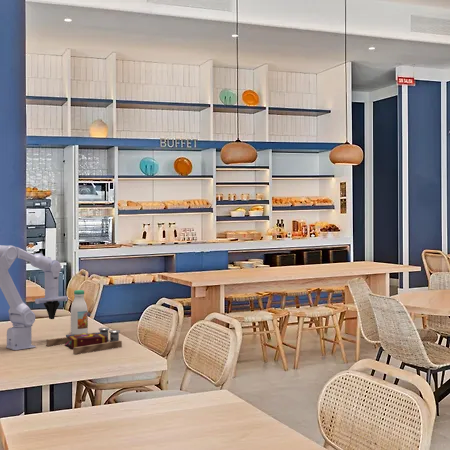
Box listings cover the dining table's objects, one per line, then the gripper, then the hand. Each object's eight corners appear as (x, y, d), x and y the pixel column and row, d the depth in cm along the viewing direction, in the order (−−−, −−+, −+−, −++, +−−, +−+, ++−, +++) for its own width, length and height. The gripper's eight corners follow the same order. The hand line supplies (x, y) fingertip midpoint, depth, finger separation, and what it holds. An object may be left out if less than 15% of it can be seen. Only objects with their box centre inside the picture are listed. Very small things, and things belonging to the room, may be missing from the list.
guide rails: (75, 354, 266) (75, 348, 266) (46, 345, 283) (46, 339, 283) (121, 347, 281) (121, 341, 281) (91, 339, 298) (91, 333, 298)
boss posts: (113, 345, 284) (113, 332, 284) (96, 341, 293) (96, 328, 293) (122, 344, 287) (122, 330, 287) (105, 339, 297) (105, 327, 297)
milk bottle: (71, 335, 306) (71, 291, 306) (70, 332, 314) (70, 289, 313) (88, 334, 308) (88, 291, 308) (87, 331, 316) (87, 289, 316)
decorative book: (107, 347, 282) (107, 335, 282) (68, 350, 275) (68, 338, 275) (100, 342, 292) (100, 331, 292) (63, 345, 285) (63, 333, 285)
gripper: (40, 289, 283) (40, 321, 284) (71, 287, 293) (71, 318, 293) (32, 288, 288) (32, 319, 289) (63, 285, 298) (63, 316, 299)
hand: (51, 318), depth 291 cm, fingers closed
